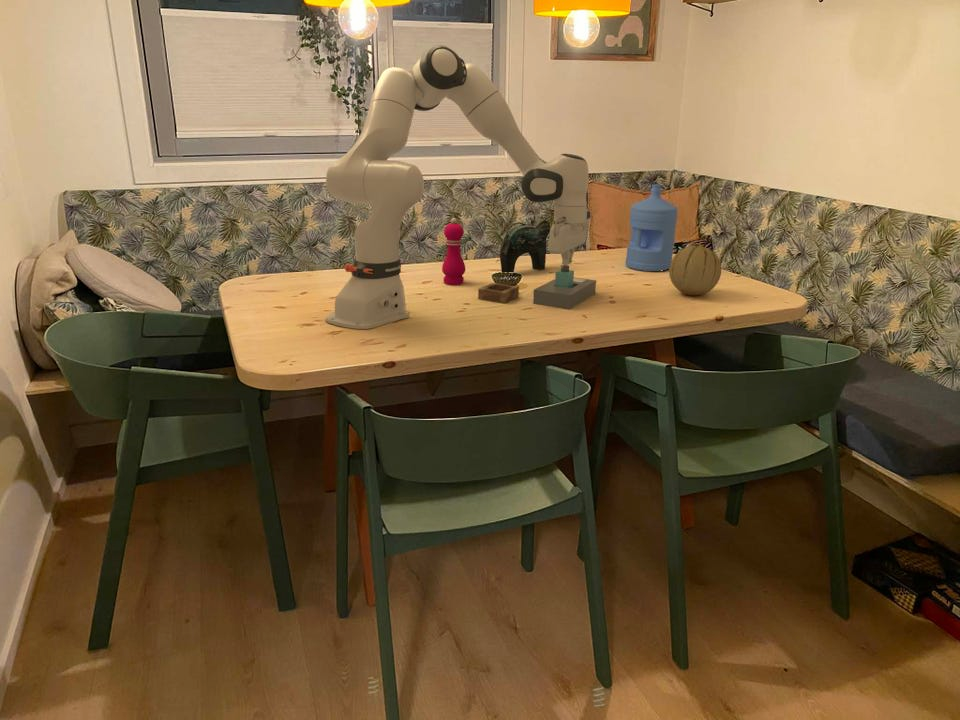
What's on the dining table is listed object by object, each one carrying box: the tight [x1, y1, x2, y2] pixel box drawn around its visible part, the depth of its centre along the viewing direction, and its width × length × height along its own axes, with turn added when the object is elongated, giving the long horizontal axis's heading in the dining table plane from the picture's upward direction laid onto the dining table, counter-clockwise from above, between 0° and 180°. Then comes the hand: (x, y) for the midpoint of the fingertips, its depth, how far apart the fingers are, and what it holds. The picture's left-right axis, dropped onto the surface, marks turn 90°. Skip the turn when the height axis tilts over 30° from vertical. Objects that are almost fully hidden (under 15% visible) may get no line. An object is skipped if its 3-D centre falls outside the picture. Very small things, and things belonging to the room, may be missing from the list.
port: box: [532, 276, 597, 310], centre depth 199 cm, size 20×11×4 cm, turn 151°
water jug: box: [625, 183, 678, 272], centre depth 235 cm, size 16×16×28 cm
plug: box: [554, 264, 575, 288], centre depth 198 cm, size 4×4×10 cm
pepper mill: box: [441, 217, 466, 286], centre depth 211 cm, size 7×7×20 cm
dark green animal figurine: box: [499, 210, 551, 273], centre depth 227 cm, size 20×6×20 cm, turn 130°
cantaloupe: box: [668, 242, 722, 296], centre depth 204 cm, size 15×15×15 cm
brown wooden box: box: [477, 282, 520, 304], centre depth 198 cm, size 9×9×3 cm
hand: (566, 264), depth 196 cm, fingers closed
